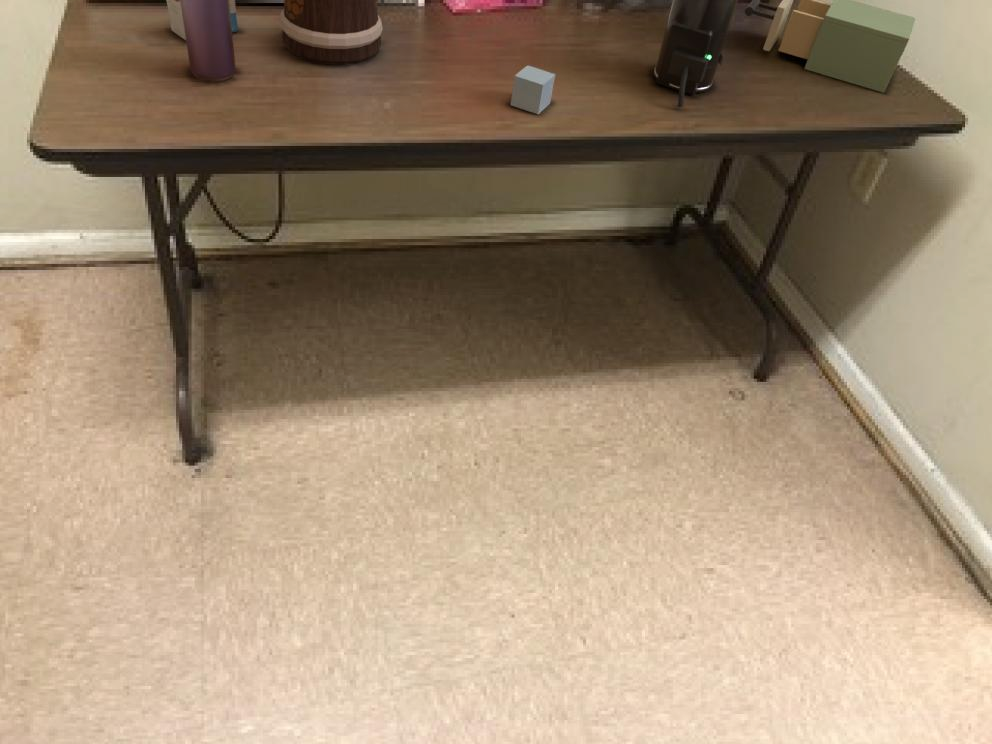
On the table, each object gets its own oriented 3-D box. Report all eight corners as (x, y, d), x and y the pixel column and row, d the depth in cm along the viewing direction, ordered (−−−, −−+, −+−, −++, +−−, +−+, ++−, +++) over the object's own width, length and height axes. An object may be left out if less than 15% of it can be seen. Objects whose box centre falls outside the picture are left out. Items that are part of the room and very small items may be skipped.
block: (538, 114, 116) (543, 84, 113) (510, 105, 117) (514, 75, 114) (550, 103, 119) (555, 74, 116) (523, 94, 120) (527, 65, 117)
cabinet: (804, 69, 140) (825, 15, 133) (815, 47, 148) (836, -5, 141) (883, 92, 136) (909, 38, 130) (891, 69, 144) (915, 17, 138)
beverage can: (224, 86, 110) (211, -31, 100) (182, 77, 111) (165, -40, 100) (243, 69, 115) (232, -45, 104) (203, 60, 115) (188, -54, 105)
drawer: (732, 40, 143) (746, -3, 138) (746, 23, 150) (760, -19, 145) (834, 70, 138) (852, 27, 133) (843, 51, 145) (860, 9, 140)
